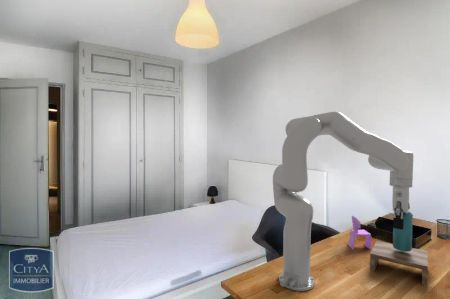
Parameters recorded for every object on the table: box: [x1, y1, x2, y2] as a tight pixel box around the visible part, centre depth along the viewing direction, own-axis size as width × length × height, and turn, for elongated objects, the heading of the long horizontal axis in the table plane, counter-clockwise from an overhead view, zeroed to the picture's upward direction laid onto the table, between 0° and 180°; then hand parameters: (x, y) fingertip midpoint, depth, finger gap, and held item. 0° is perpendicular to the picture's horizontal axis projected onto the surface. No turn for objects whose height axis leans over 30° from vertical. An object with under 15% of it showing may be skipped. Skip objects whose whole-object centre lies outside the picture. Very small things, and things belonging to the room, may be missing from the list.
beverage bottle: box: [391, 204, 414, 252], centre depth 105 cm, size 6×7×20 cm
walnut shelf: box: [369, 240, 429, 287], centre depth 106 cm, size 16×18×7 cm
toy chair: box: [347, 215, 373, 251], centre depth 128 cm, size 8×9×15 cm
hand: (399, 225), depth 105 cm, fingers open, 9 cm apart
